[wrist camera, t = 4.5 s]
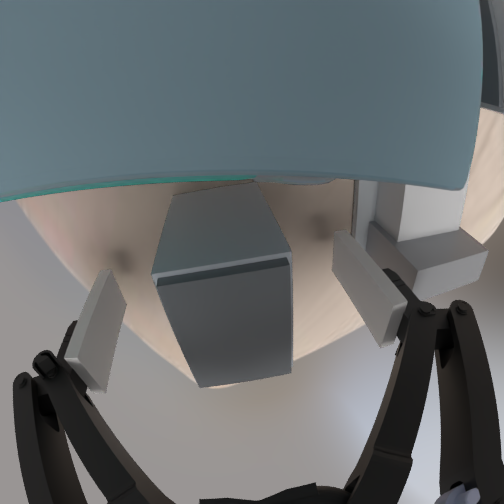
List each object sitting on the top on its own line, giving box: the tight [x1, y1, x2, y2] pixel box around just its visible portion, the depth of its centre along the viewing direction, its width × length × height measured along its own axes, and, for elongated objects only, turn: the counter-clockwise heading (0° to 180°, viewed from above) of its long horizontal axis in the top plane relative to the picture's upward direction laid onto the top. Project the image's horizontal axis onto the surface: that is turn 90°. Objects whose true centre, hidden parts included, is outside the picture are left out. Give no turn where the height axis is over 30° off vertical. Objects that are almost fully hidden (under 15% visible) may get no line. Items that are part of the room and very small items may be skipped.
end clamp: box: [366, 221, 489, 301], centre depth 17 cm, size 2×7×6 cm, turn 96°
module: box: [151, 182, 293, 388], centre depth 15 cm, size 7×5×8 cm
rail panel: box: [352, 166, 471, 251], centre depth 14 cm, size 20×8×4 cm, turn 6°
